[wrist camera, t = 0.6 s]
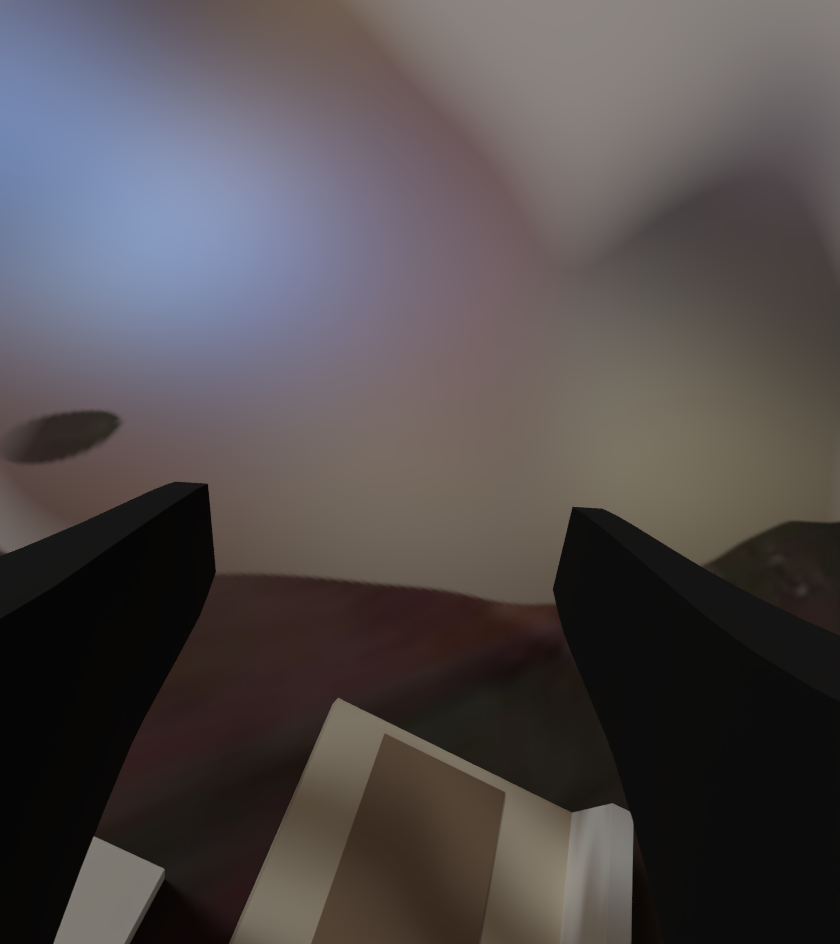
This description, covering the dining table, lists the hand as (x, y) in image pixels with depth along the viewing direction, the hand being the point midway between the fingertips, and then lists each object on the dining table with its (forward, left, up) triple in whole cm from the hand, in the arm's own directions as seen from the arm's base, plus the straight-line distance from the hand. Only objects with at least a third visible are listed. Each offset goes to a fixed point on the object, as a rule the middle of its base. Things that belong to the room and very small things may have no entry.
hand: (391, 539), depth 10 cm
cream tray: (-3, -8, -16) cm, 19 cm away
